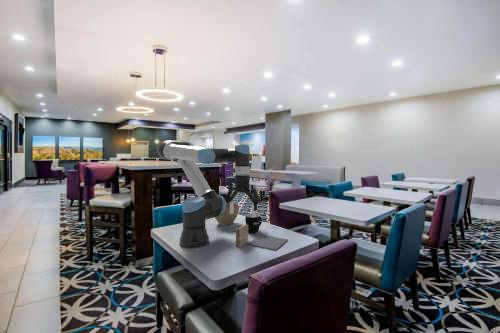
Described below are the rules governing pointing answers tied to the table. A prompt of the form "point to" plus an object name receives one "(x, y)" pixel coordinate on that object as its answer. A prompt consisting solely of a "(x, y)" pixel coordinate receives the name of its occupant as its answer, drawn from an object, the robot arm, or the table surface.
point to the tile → (241, 235)
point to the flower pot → (228, 215)
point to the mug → (253, 223)
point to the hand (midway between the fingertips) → (242, 215)
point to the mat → (267, 242)
